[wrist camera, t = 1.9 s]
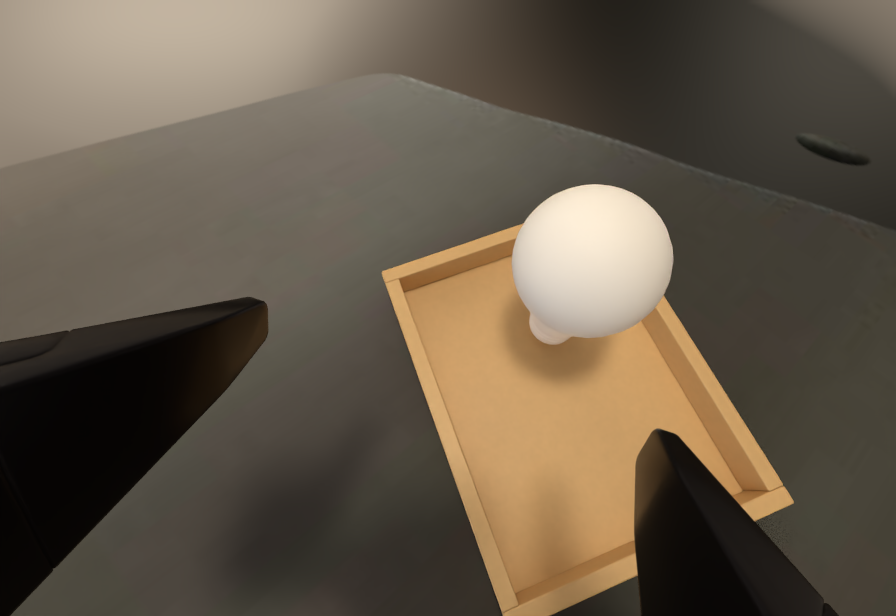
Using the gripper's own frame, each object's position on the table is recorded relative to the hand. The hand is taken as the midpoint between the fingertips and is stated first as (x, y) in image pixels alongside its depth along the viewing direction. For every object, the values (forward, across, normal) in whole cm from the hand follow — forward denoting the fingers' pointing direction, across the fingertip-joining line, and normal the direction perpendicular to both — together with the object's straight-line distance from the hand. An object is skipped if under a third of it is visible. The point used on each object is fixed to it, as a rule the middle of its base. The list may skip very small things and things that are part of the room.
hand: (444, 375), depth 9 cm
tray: (+13, -4, +8) cm, 16 cm away
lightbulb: (+15, -3, +6) cm, 16 cm away
